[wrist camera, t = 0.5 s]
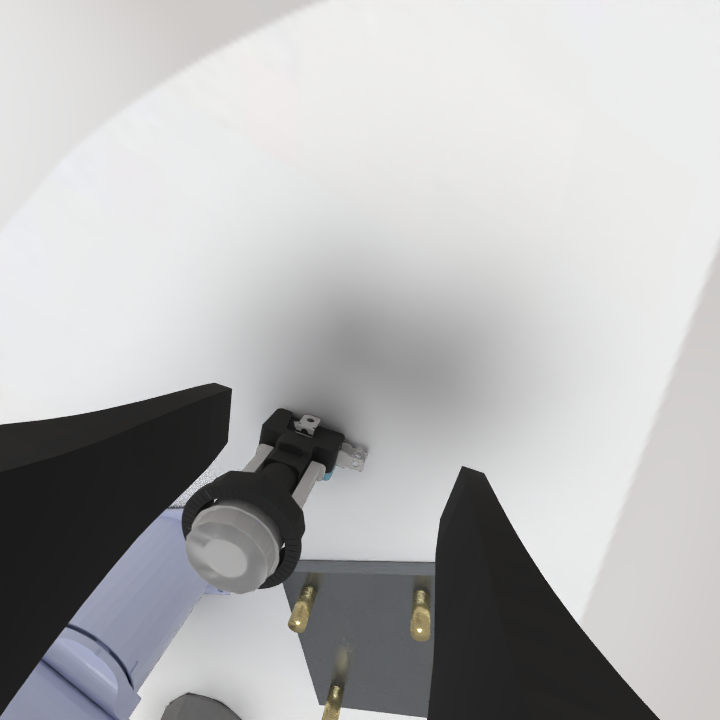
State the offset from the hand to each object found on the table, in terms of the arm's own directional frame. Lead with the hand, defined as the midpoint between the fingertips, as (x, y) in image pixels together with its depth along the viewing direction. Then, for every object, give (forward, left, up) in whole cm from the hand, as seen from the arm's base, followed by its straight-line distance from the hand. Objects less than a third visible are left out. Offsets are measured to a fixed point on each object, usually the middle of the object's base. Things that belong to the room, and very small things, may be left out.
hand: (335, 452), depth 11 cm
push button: (-5, -5, -11) cm, 13 cm away
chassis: (-4, -22, -11) cm, 25 cm away
